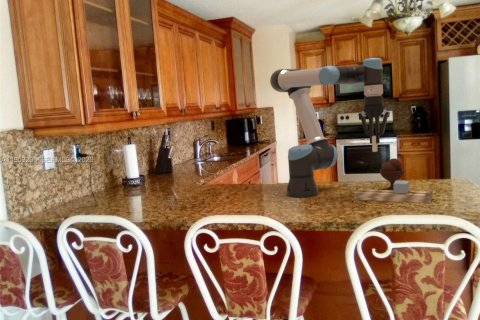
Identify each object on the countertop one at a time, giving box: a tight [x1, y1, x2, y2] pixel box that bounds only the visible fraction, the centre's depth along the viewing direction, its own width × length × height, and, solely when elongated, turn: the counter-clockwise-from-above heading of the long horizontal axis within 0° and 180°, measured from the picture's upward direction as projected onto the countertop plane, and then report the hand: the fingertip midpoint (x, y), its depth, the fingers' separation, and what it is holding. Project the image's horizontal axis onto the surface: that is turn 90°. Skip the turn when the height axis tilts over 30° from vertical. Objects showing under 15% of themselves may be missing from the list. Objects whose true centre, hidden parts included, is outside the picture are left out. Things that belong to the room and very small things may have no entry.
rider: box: [393, 180, 410, 194], centre depth 171 cm, size 5×7×6 cm
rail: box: [354, 188, 434, 204], centre depth 174 cm, size 30×8×4 cm, turn 58°
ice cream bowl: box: [379, 158, 406, 191], centre depth 192 cm, size 11×11×15 cm
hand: (374, 151), depth 176 cm, fingers closed
